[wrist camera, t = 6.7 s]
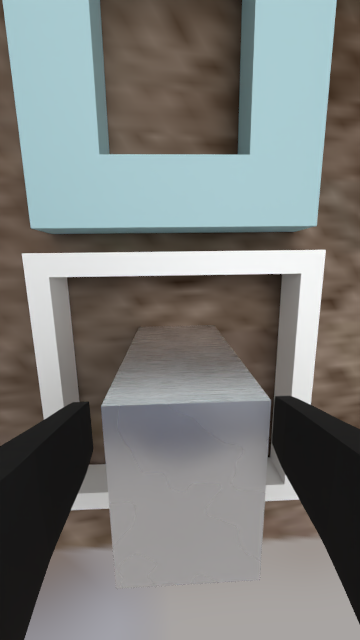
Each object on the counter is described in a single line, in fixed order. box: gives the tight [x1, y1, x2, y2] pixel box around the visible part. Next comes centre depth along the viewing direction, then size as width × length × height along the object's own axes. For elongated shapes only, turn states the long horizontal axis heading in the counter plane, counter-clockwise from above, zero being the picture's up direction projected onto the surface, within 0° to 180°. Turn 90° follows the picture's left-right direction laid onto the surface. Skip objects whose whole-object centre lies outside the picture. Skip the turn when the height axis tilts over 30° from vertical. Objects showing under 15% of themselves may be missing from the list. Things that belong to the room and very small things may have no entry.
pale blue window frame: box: [3, 0, 337, 234], centre depth 11 cm, size 12×13×2 cm
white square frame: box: [22, 250, 326, 510], centre depth 13 cm, size 13×13×2 cm
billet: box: [101, 325, 271, 589], centre depth 11 cm, size 4×6×8 cm
